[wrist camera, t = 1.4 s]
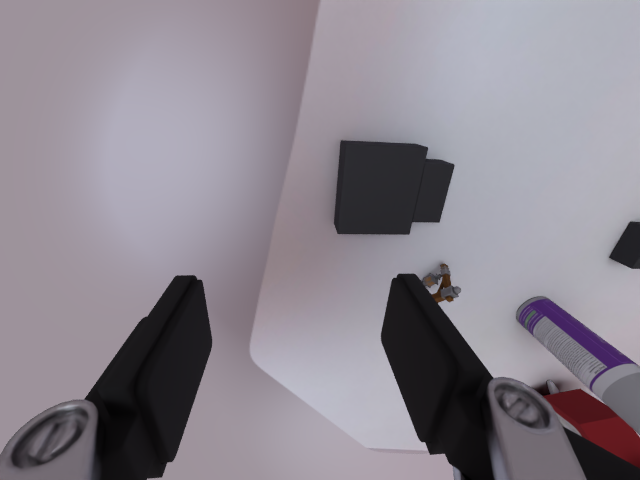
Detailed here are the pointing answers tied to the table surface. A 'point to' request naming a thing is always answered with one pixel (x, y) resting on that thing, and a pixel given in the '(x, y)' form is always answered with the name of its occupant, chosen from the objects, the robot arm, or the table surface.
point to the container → (586, 357)
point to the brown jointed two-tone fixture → (442, 285)
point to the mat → (629, 247)
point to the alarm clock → (595, 422)
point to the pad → (388, 187)
